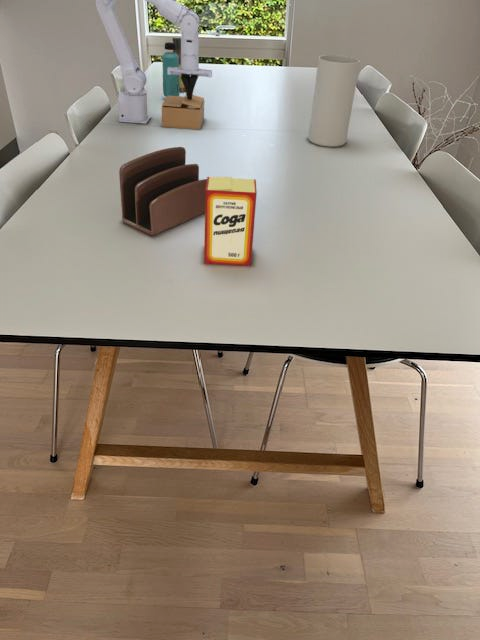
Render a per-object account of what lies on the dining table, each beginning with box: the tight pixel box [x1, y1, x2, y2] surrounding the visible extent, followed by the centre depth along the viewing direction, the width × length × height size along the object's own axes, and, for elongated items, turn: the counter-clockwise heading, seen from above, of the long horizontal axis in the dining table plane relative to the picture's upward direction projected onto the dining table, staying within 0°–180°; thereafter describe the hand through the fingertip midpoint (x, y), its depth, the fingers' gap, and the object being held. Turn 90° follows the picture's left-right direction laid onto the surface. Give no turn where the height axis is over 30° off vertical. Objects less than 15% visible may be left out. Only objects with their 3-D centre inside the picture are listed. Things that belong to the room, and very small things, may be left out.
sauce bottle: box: [172, 35, 186, 93], centre depth 217 cm, size 6×6×20 cm
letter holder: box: [118, 146, 207, 237], centre depth 121 cm, size 10×20×14 cm, turn 141°
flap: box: [182, 94, 205, 108], centre depth 181 cm, size 6×13×1 cm, turn 177°
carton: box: [161, 95, 205, 130], centre depth 184 cm, size 13×13×7 cm
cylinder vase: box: [308, 54, 361, 148], centre depth 171 cm, size 12×12×25 cm
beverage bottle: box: [161, 41, 181, 98], centre depth 205 cm, size 6×7×20 cm
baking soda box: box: [203, 176, 258, 267], centre depth 106 cm, size 10×6×16 cm
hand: (189, 98), depth 181 cm, fingers closed
